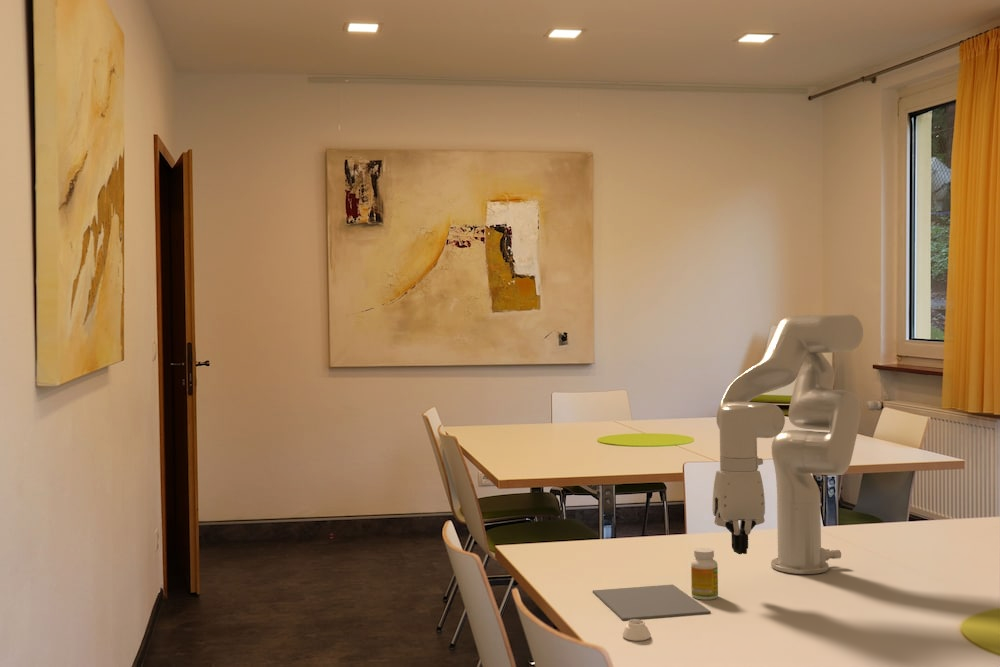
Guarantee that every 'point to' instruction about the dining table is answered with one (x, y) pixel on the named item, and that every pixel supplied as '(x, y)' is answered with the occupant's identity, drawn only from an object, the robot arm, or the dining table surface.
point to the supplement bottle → (704, 575)
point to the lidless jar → (636, 630)
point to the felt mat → (649, 602)
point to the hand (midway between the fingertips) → (740, 552)
